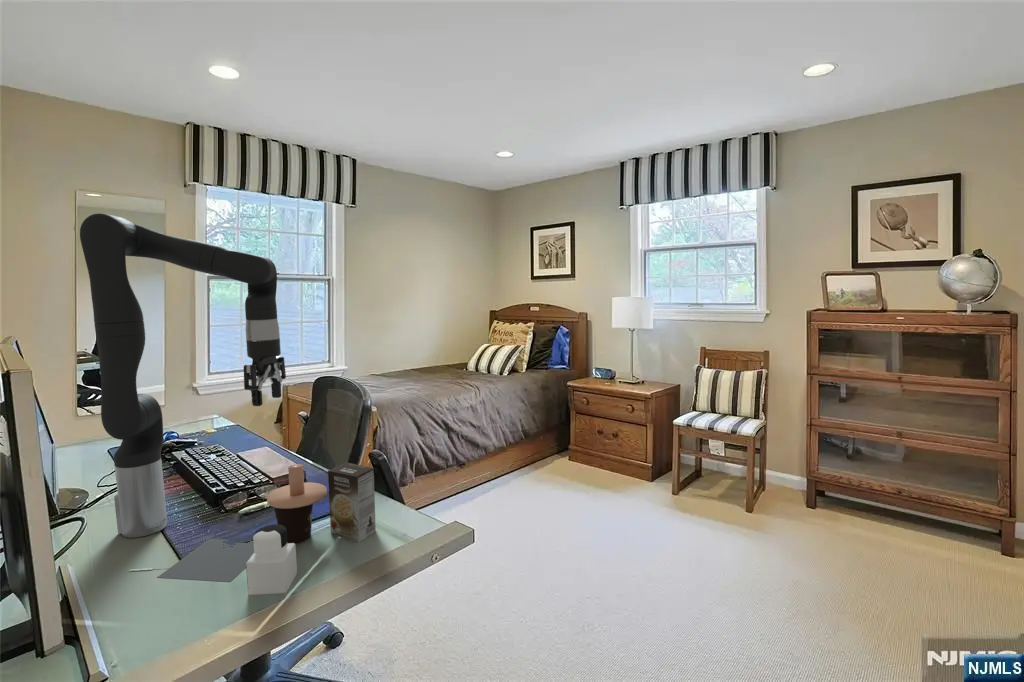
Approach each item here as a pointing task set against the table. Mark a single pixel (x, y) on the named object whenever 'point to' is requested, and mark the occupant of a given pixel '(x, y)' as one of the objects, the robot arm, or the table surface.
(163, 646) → the table surface
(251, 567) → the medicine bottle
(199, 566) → the mat
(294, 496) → the terracotta lid
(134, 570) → the white screwdriver
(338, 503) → the coffee box
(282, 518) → the coffee mug
